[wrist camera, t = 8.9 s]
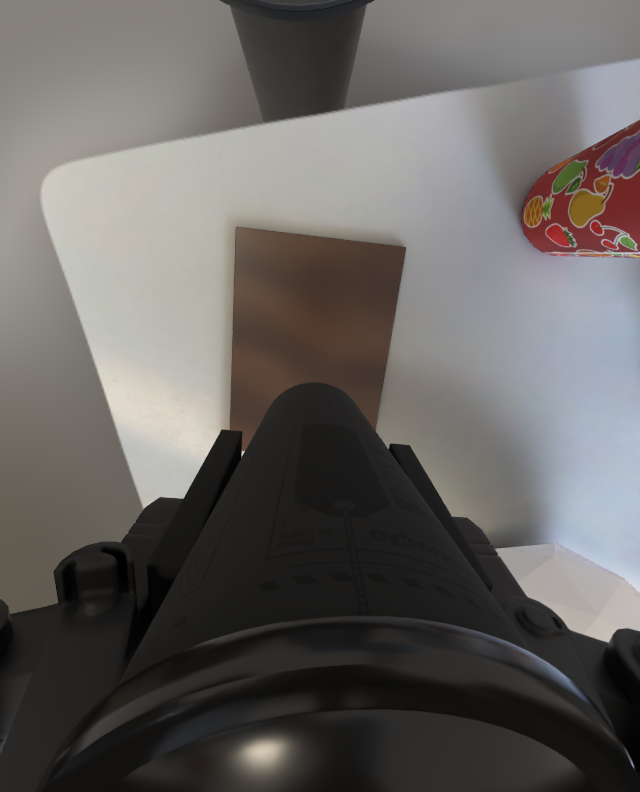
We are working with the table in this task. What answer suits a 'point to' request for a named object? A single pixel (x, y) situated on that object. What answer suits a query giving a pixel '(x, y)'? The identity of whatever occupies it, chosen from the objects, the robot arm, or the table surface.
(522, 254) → the table surface
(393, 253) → the placemat
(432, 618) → the drinking cup
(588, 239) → the smoothie
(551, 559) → the ball
